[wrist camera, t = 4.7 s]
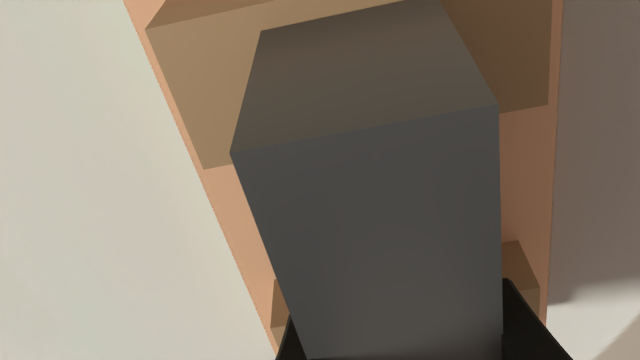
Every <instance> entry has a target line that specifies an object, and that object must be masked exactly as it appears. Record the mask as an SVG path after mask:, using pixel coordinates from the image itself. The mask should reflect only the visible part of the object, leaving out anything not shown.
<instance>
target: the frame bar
mask: <svg viewBox="0 0 640 360" xmlns="http://www.w3.org/2000/svg"><path fill="white" fill-rule="evenodd" d="M229 154H230V157H231V159H232V162H233V165H234V167H235V170H236V173H237V175H238V178H239V181H240V183H241V186H242V189H243V191H244V194H245V197H246V199H247V202H248V204H249V207H250V210H251V212H252V215H253V218H254V220H255V223H256V226H257V228H258V231H259V234H260V236H261V239H262V242H263V244H264V247H265V249H266V252H267V255H268V257H269V260H270V263H271V265H272V268H273V271H274V273H275V276H276V279H277V281H278V284H279V287H280V289H281V292H282V295H283V297H284V300H285V302H286V305H287V308H288V310H289V313H290V316H291V318H292V321H293V324H294V326H295V329H296V332H297V334H298V337H299V340H300V342H301V345H302V347H303V350H304V353H305V355H306V358H307V360H310V359H314V360H502V345H501V335H502V334H503V299H502V248H501V197H500V145H499V103H498V102H497V100H496V98H495V96H494V95H493V93H492V91H491V89H490V88H489V86H488V84H487V82H486V81H485V79H484V77H483V75H482V74H481V72H480V70H479V68H478V67H477V65H476V63H475V61H474V60H473V58H472V56H471V54H470V53H469V51H468V49H467V47H466V46H465V44H464V42H463V40H462V39H461V37H460V35H459V33H458V32H457V30H456V28H455V26H454V25H453V23H452V21H451V19H450V18H449V16H448V14H447V12H446V11H445V9H444V7H443V5H442V4H441V2H440V0H403V1H398V2H394V3H389V4H384V5H380V6H375V7H370V8H366V9H361V10H356V11H351V12H347V13H342V14H337V15H333V16H328V17H323V18H318V19H314V20H309V21H304V22H300V23H295V24H290V25H285V26H281V27H276V28H271V29H267V30H262V31H261V32H260V36H259V40H258V44H257V48H256V51H255V55H254V59H253V63H252V67H251V71H250V75H249V78H248V82H247V86H246V90H245V94H244V98H243V102H242V105H241V109H240V113H239V117H238V121H237V125H236V128H235V132H234V136H233V140H232V144H231V148H230V152H229Z"/></svg>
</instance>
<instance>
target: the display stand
mask: <svg viewBox="0 0 640 360" xmlns="http://www.w3.org/2000/svg"><path fill="white" fill-rule="evenodd" d="M398 1H403V0H123V2H124V4H125V6H126V9H127V11H128V13H129V16H130V18H131V20H132V23H133V25H134V27H135V29H136V32H137V34H138V36H139V39H140V41H141V43H142V46H143V48H144V50H145V53H146V55H147V57H148V60H149V62H150V64H151V67H152V69H153V71H154V74H155V76H156V78H157V81H158V83H159V85H160V87H161V90H162V92H163V94H164V97H165V99H166V101H167V104H168V106H169V108H170V111H171V113H172V115H173V118H174V120H175V122H176V125H177V127H178V129H179V132H180V134H181V136H182V139H183V141H184V143H185V145H186V148H187V150H188V152H189V155H190V157H191V159H192V162H193V164H194V166H195V169H196V171H197V173H198V176H199V178H200V180H201V183H202V185H203V187H204V190H205V192H206V194H207V197H208V199H209V201H210V203H211V206H212V208H213V210H214V213H215V215H216V217H217V220H218V222H219V224H220V227H221V229H222V231H223V234H224V236H225V238H226V241H227V243H228V245H229V248H230V250H231V252H232V255H233V257H234V259H235V261H236V264H237V266H238V268H239V271H240V273H241V275H242V278H243V280H244V282H245V285H246V287H247V289H248V292H249V294H250V296H251V299H252V301H253V303H254V306H255V308H256V310H257V313H258V315H259V317H260V319H261V322H262V324H263V326H264V329H265V331H266V333H267V336H268V338H269V340H270V343H271V345H272V347H273V350H274V352H275V354H276V356H277V353H278V350H279V347H280V344H281V341H282V338H283V334H284V331H285V327H286V324H287V320H288V316H289V314H290V313H289V310H288V308H287V305H286V302H285V300H284V297H283V295H282V292H281V289H280V287H279V284H278V281H277V279H276V276H275V273H274V271H273V268H272V265H271V263H270V260H269V257H268V255H267V252H266V249H265V247H264V244H263V242H262V239H261V236H260V234H259V231H258V228H257V226H256V223H255V220H254V218H253V215H252V212H251V210H250V207H249V204H248V202H247V199H246V197H245V194H244V191H243V189H242V186H241V183H240V181H239V178H238V175H237V173H236V170H235V167H234V165H233V162H232V159H231V157H230V154H229V152H230V148H231V144H232V140H233V136H234V132H235V128H236V125H237V121H238V117H239V113H240V109H241V105H242V102H243V98H244V94H245V90H246V86H247V82H248V78H249V75H250V71H251V67H252V63H253V59H254V55H255V51H256V48H257V44H258V40H259V36H260V32H261V31H262V30H267V29H271V28H276V27H281V26H285V25H290V24H295V23H300V22H304V21H309V20H314V19H318V18H323V17H328V16H333V15H337V14H342V13H347V12H351V11H356V10H361V9H366V8H370V7H375V6H380V5H384V4H389V3H394V2H398ZM563 1H564V0H440V2H441V4H442V5H443V7H444V9H445V11H446V12H447V14H448V16H449V18H450V19H451V21H452V23H453V25H454V26H455V28H456V30H457V32H458V33H459V35H460V37H461V39H462V40H463V42H464V44H465V46H466V47H467V49H468V51H469V53H470V54H471V56H472V58H473V60H474V61H475V63H476V65H477V67H478V68H479V70H480V72H481V74H482V75H483V77H484V79H485V81H486V82H487V84H488V86H489V88H490V89H491V91H492V93H493V95H494V96H495V98H496V100H497V102H498V103H499V145H500V197H501V248H502V278H508V279H510V280H511V281H512V282H513V283H514V285H515V286H516V288H517V289H518V291H519V292H520V294H521V295H522V297H523V298H524V299H525V301H526V302H527V304H528V305H529V306H530V308H531V309H532V310H533V312H534V313H535V314H536V316H537V317H538V318H539V319H540V321H541V322H542V323H543V324H544V326H545V327H546V315H547V297H548V278H549V260H550V241H551V223H552V204H553V186H554V167H555V149H556V130H557V112H558V93H559V75H560V56H561V38H562V19H563Z"/></svg>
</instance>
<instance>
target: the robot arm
mask: <svg viewBox="0 0 640 360" xmlns="http://www.w3.org/2000/svg"><path fill="white" fill-rule="evenodd" d="M502 299H503V334H502V335H501V345H502V360H573V359H572V358H571V357H570V356H569V354H568V353H567V352H566V351H565V350H564V349H563V348H562V346H561V345H560V344H559V343H558V342H557V340H556V339H555V338H554V337H553V336H552V334H551V333H550V332H549V331H548V329H547V328H546V327H545V326H544V324H543V323H542V322H541V321H540V319H539V318H538V317H537V316H536V314H535V313H534V312H533V310H532V309H531V308H530V306H529V305H528V304H527V302H526V301H525V299H524V298H523V297H522V295H521V294H520V292H519V291H518V289H517V288H516V286H515V285H514V283H513V282H512V281H511V280H510V279H508V278H502ZM275 360H307V358H306V355H305V353H304V350H303V347H302V345H301V342H300V340H299V337H298V334H297V332H296V329H295V326H294V324H293V321H292V318H291V316H290V314H289V316H288V320H287V324H286V327H285V331H284V334H283V338H282V341H281V344H280V347H279V350H278V353H277V356H276V359H275ZM310 360H314V359H310Z"/></svg>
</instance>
